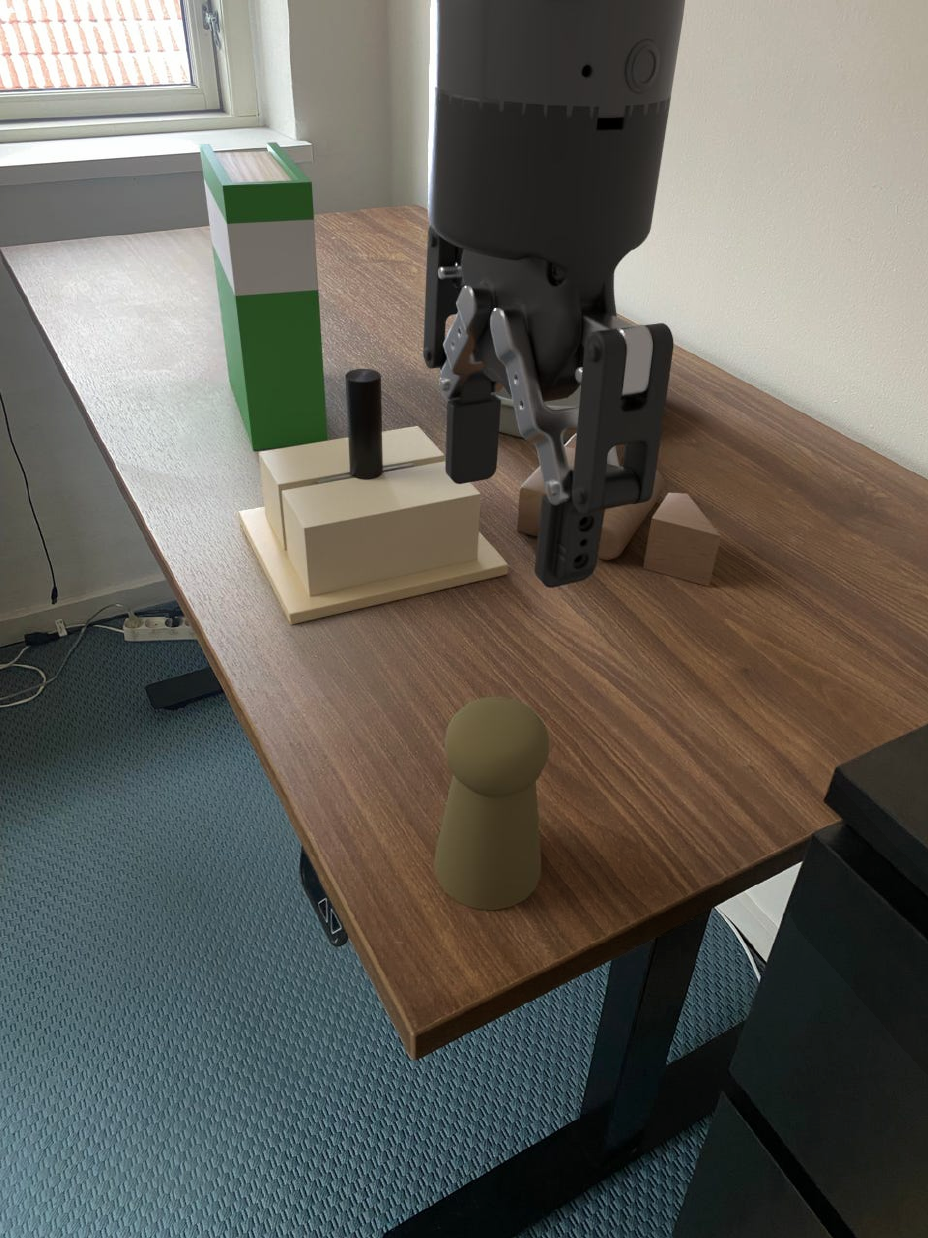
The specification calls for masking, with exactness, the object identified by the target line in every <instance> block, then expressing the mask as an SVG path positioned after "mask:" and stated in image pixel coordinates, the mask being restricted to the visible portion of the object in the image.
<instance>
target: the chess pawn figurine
mask: <svg viewBox="0 0 928 1238" xmlns="http://www.w3.org/2000/svg"><path fill="white" fill-rule="evenodd" d="M549 754H550V738H549V733H548V730H547V728H546V725H545V723H544V721H543V720H542V718H541V717H540V716H539V715H538V714H537V713H536V712H535V711H534V710H533V708H532V707H530V706H529V705H526V703H523V702H522V701H520V700H516V699H513V698H510V697H503V696H488V697H480V698H477V699H475V700H472V701H470V702H468V703H466V704H465V705H464V706H462V707H461V708H460V709H459V710H458V711H457V712H456V713H455V714H454V715H453V717H452V718H451V720H450V721H449V723H448V725H447V728H446V731H445V738H444V755H445V759H446V761H447V765H448V767H449V771H450V772H451V773H452V777H451V781H450V785H449V790H448V795H447V799H446V803H445V807H444V812H443V817H442V820H441V824H440V825H441V826H440V830H439V834H438V839H437V843H436V848H435V852H434V860H433V871H434V875H435V878H436V881H437V883H438V884H439V886H440V887H441V888H442V890H443V891H444V893H445V894H446V895H448V896H449V897H450V898H452V899H453V900H454V901H456V902H457V903H459V904H461V905H463V906H465V907H466V906H467V907H468V908H472V909H473V910H474V909H475V910H483V911H498V910H505V909H509V908H512V907H514V906H516V905H518V904H520V903H522V902H523V901H526V899H527V898H528V897H529V896H531V894H532V893H533V892H534V891H535V890H536V888H537V887H538V884H539V882H540V879H541V877H542V852H541V837H540V822H539V810H538V809H539V807H538V795H537V793H538V792H537V781H538V780H539V779H540V777H541V774H542V772H543V771H544V768H545V767H546V765H547V763H548V760H549Z"/></svg>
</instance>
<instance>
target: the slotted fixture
mask: <svg viewBox="0 0 928 1238" xmlns="http://www.w3.org/2000/svg"><path fill="white" fill-rule="evenodd" d="M382 454H383V468H388V467H393V466H399V465H404V464H410V463H413V464H414V467H411V468H406V469H400V470H394V471H389V472H383V473H382V474H381V475H380V476H379V477H377V478H374V479H368V480H365V479H358V478H350V479H344V480H339V481H333V482H328V483H322V484H317V480H320V479H326V478H331V477H337V476H343V475H348V474H350V465H349V443H348V436H346V437H342V438H336V439H330V440H329V439H328V441H323V442H317V443H311V444H304V445H296V446H288V447H279V448H273V449H267V450H261V451H258V460H259V469H260V478H261V489H262V496H263V505H264V506H259V507H254V508H249V509H244V510H239V511H237V517H238V522H239V524H240V526H241V528H242V530H243V532H244V534H245V536H246V538H247V540H248V542H249V544H250V546H251V548H252V550H253V552H254V554H255V556H256V558H257V560H258V562H259V564H260V567H261V568H262V570H263V572H264V574H265V576H266V578H267V580H268V582H269V584H270V586H271V589H272V590H273V592H274V594H275V596H276V598H277V600H278V602H279V604H280V606H281V608H282V610H283V612H284V614H285V616H286V618H287V620H288V622H289V624H290V625H296V624H300V623H304V622H309V621H314V620H317V619H321V618H325V617H331V616H334V615H339V614H344V613H347V612H352V611H356V610H361V609H365V608H369V607H373V606H377V605H382V604H386V603H391V602H393V601H398V600H403V599H408V598H412V597H416V596H421V595H424V594H429V593H433V592H437V591H441V590H442V591H443V590H446V589H449V588H455V587H459V586H463V585H468V584H472V583H476V582H480V581H485V580H489V579H493V578H497V577H502V576H506V575H508V573H509V563H508V562H507V561H506V560H505V559H504V558H503V557H502V555H501V554H500V553H499V552H498V551H497V550H496V549H495V548H494V546H493V545H492V544H491V543H490V542H489V541H488V539H487V538H486V537H485V536H484V535H483V533H482V532H481V531H480V515H481V500H482V499H481V496H482V493H481V492H480V491H479V490H478V489H477V488H476V487H475V486H474V485H473V484H472V482H469V483H463V484H456V483H455V482H453V480H452V479H451V478H450V477H449V476H448V475H447V474H446V471H445V462H446V454H444V452H442V450H441V449H440V448H439V447H438V446H437V445H436V444H435V443H434V442H433V440H432V439H430V437H428V435H427V434H426V433H425V432H424V431H423V430H422V429H421V428H420V427H419V426H418V425H416V426H415V425H414V426H409V427H403V428H398V429H397V428H396V429H391V430H384V431H382Z"/></svg>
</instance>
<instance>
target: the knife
mask: <svg viewBox="0 0 928 1238" xmlns="http://www.w3.org/2000/svg"><path fill="white" fill-rule="evenodd" d="M345 397H346V398H345V399H346V417H347V421H346V422H347V437H348V443H349V465H350V474H348V475H343V476H337V477H331V478H326V479H320V480H317V484H322V483H328V482H333V481H339V480H344V479H350V478H358V479H365V480H368V479H374V478H377V477H379V476H380V475H381V474H382V473H383V472H389V471H394V470H400V469H406V468H411V467H414V464H413V463H410V464H404V465H399V466H393V467H388V468H383V454H382V432H383V413H382V409H383V408H382V375H381V373H380V372H378V371H377V370H374V369H371V368H356V369H352V370H349V371H347V373H346V374H345Z"/></svg>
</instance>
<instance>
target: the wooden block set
mask: <svg viewBox="0 0 928 1238" xmlns="http://www.w3.org/2000/svg"><path fill="white" fill-rule="evenodd" d="M576 437H577V434H574V436H573V437H572V438H571V439H570V440H569V441H568V442H565V443H564V446H565V451H566V455H567V460H568V465H569V467H574V460H575V449H576ZM615 447H616V452H617V457H618V461H619V466H620V467H621V464H622V457H623V450H624V444H621V445H616V446H615ZM662 475H663V474H661V472H659V471H658V470H657V469H656V474H655V481H654V488H653V494H652V497H651V499H650V500H649V501H647V502H643V503H638V504H629V505H624V506H619V507H614V508H609V509H605V513H604V519H603V526H602V532H601V539H600V542H599V544H600V546H599V552H597V553H598V559H600V560H603V561H609V560H615V559H617V558H618V557H619V556H621V554H622V553H623V552H624V550H625V549H626V547H627V546H628V544H629V543H630V541H632V538H633V537H634V535H635V534H636V532H637V531H638V529H639V528H640V526H641V525H642V524H643V522H644V520H645V519H646V518H647V516H648V514H649V513H650V512H651V510H652V509H653V508H654V506H655V504H656V503H657V501H658V500H659V498H660V497H661V495H663V492H664V490H665V480H664V477H663V476H662ZM542 495H546V491H545V486H544V482H543V477H542V472H541V468H540V465H539V466H538V467H537V469H536V470H534V471H533V473H531V475H530V476H529V477H528V478H527V479H526V480H525V481H524V482H523V483H522V484H521V486H520V487H519V494H518V509H517V522H516V530H517V532H519V533H521V534H523V535H527V536H531V537H535V538H538V532H539V523H540V513H541V503H542ZM720 540H721V534H720V533H719V531H718V530H717V529H716V528H715V527H714V525H713V524H712V523H711V522H710V520H709V519H708V517H707V516H705V514H704V513H703V512H702V510H701V509H700V507H698V505H697V504H696V503H695V501H694V500H693V499H692V497H691V496H690V495H689V494H688V493H684V492H683V493H681V492H668V493H667V494H666V496H665V498H664V499H663V500H662V501H661V503H660V505H659V507H658V508H657V509H656V511H655V512H654V514H653V515H652V517H651V520H650V526H649V531H648V537H647V542H646V543H647V544H646V549H645V555H644V561H643V567H642V568H643V569H644V570H648V571H651V572H656V573H659V574H661V575H666V576H669V577H673V578H677V579H681V580H683V581H687V582H691V583H694V584H699V585H702V586H705V587H710V584H711V580H712V575H713V571H714V566H715V561H716V558H717V553H718V549H719V545H720Z"/></svg>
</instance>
